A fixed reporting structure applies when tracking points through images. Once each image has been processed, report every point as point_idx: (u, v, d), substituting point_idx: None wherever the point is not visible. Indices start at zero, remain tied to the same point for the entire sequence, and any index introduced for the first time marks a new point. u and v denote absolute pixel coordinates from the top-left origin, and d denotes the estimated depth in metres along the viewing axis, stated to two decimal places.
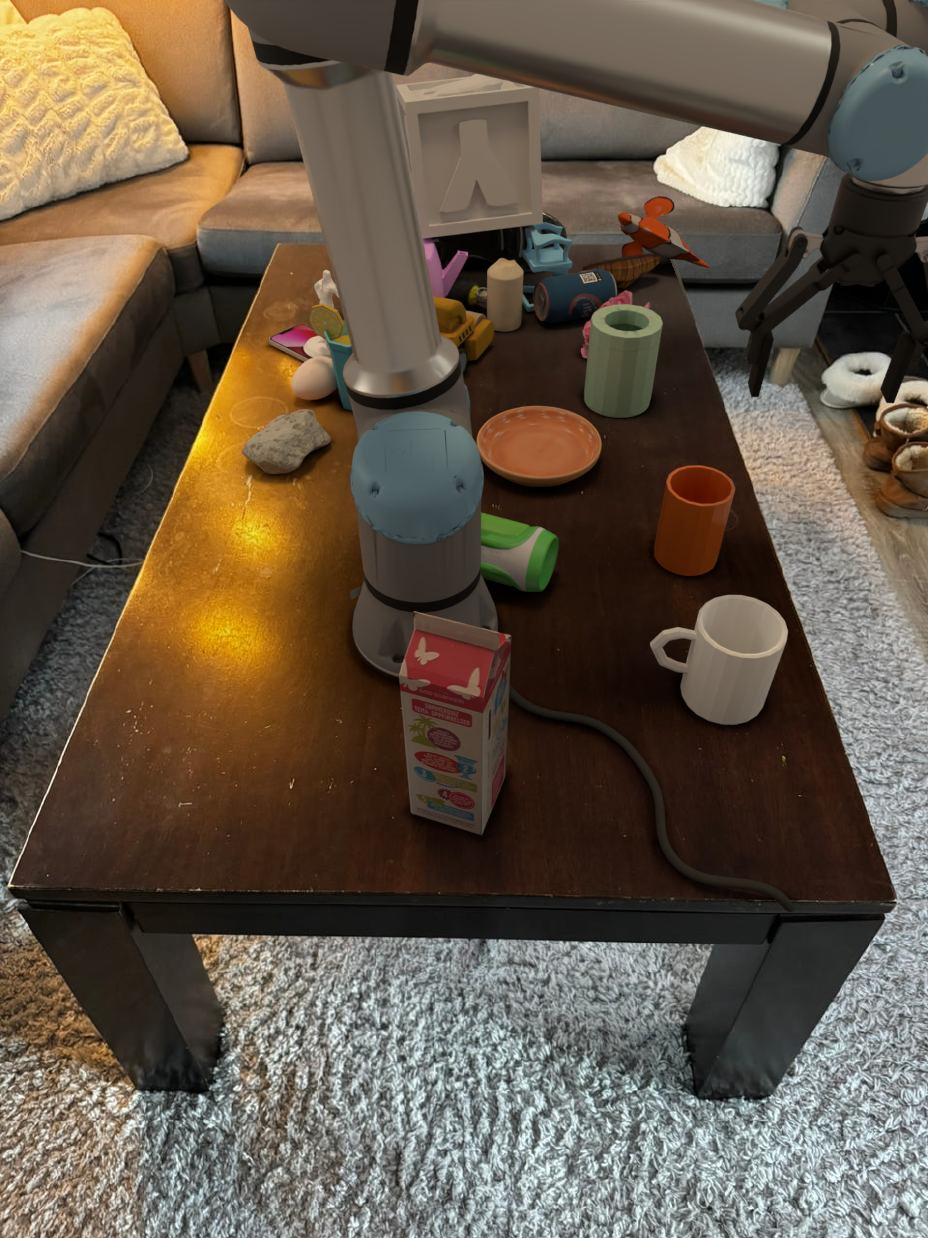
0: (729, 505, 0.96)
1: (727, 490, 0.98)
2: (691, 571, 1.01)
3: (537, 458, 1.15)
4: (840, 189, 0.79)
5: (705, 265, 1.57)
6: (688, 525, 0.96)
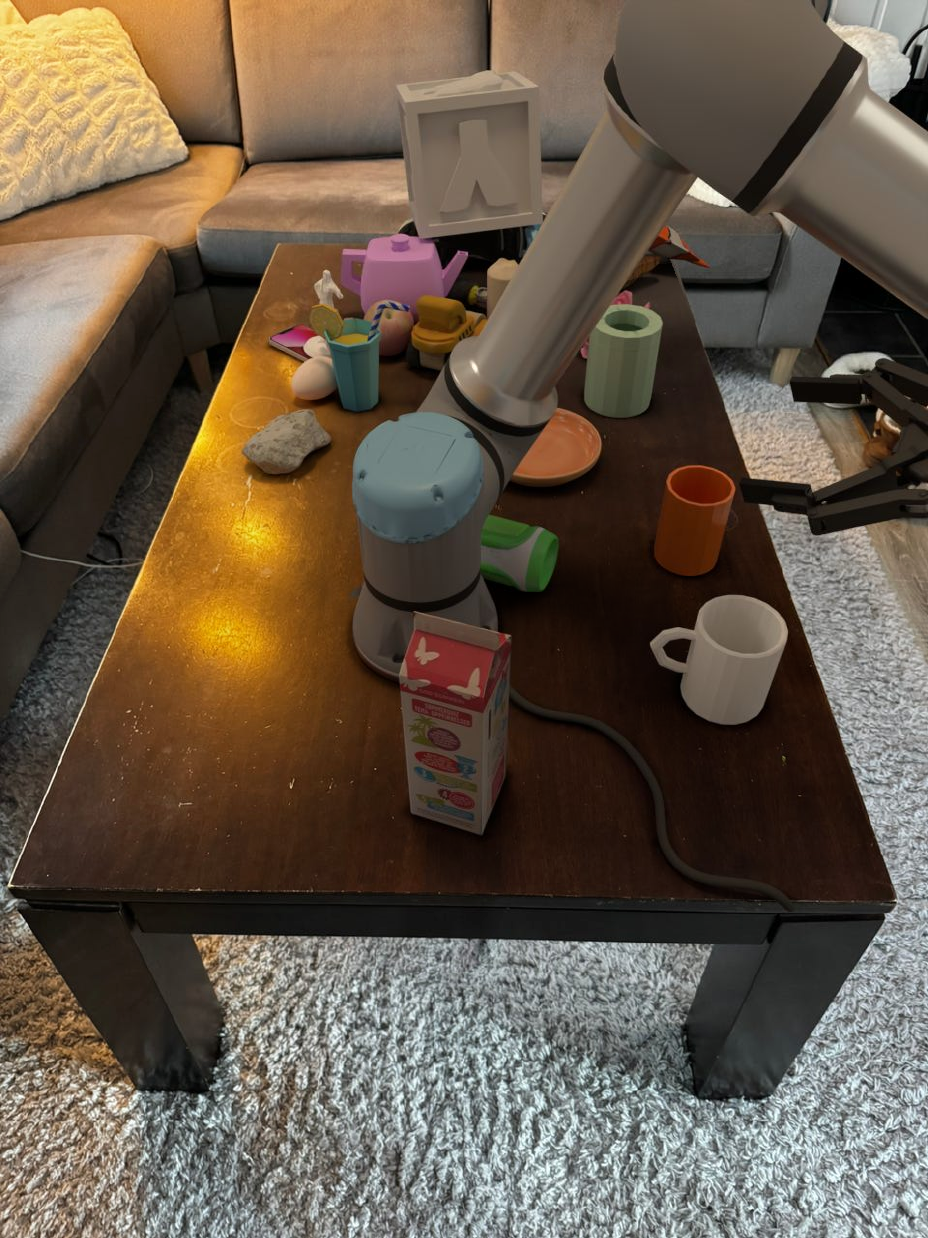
0: (729, 505, 0.96)
1: (727, 490, 0.98)
2: (691, 571, 1.01)
3: (537, 458, 1.15)
4: None
5: (705, 265, 1.57)
6: (688, 525, 0.96)
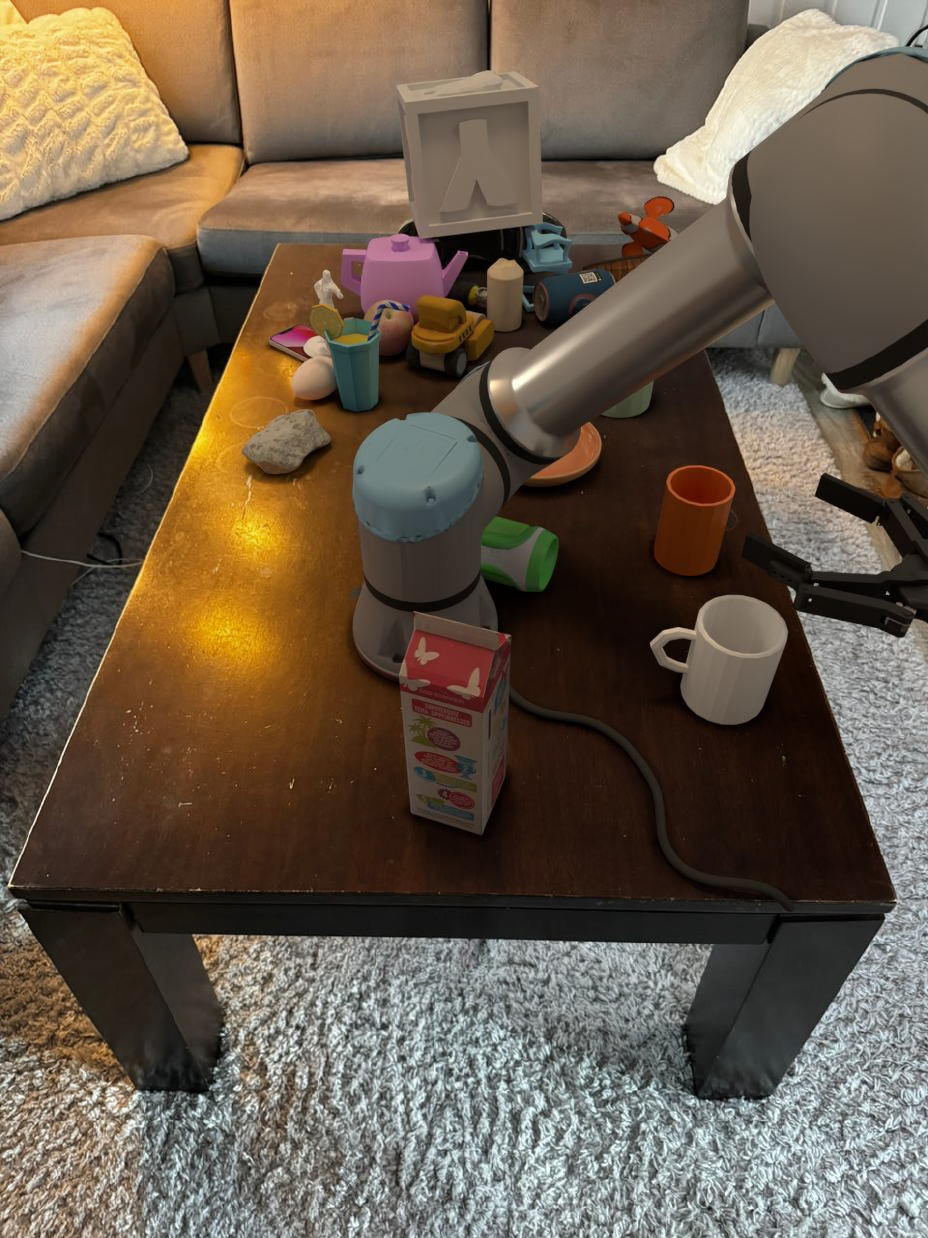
0: (729, 505, 0.96)
1: (727, 490, 0.98)
2: (691, 571, 1.01)
3: None
4: None
5: None
6: (688, 525, 0.96)
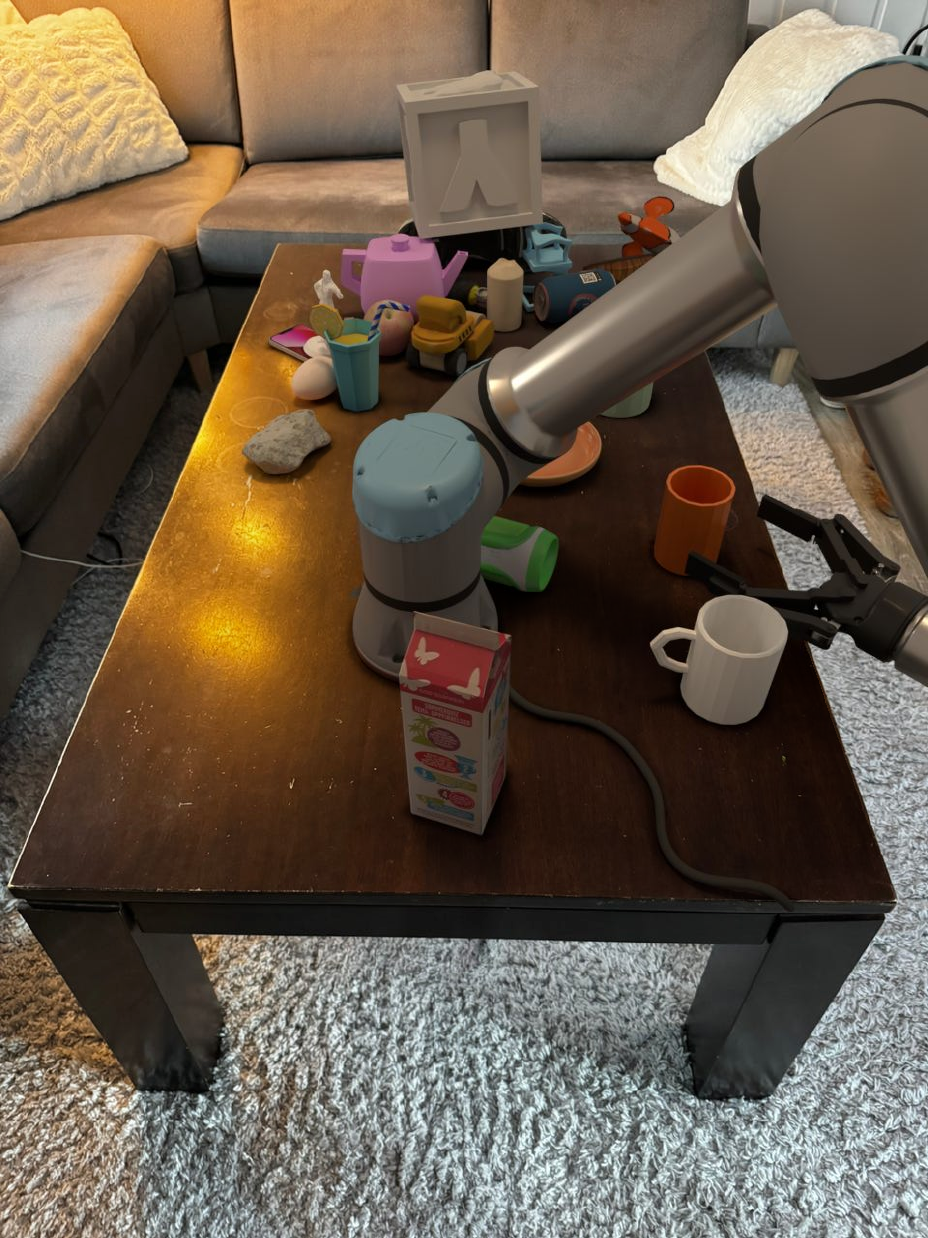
0: (729, 505, 0.96)
1: (727, 490, 0.98)
2: None
3: None
4: None
5: None
6: (688, 525, 0.96)
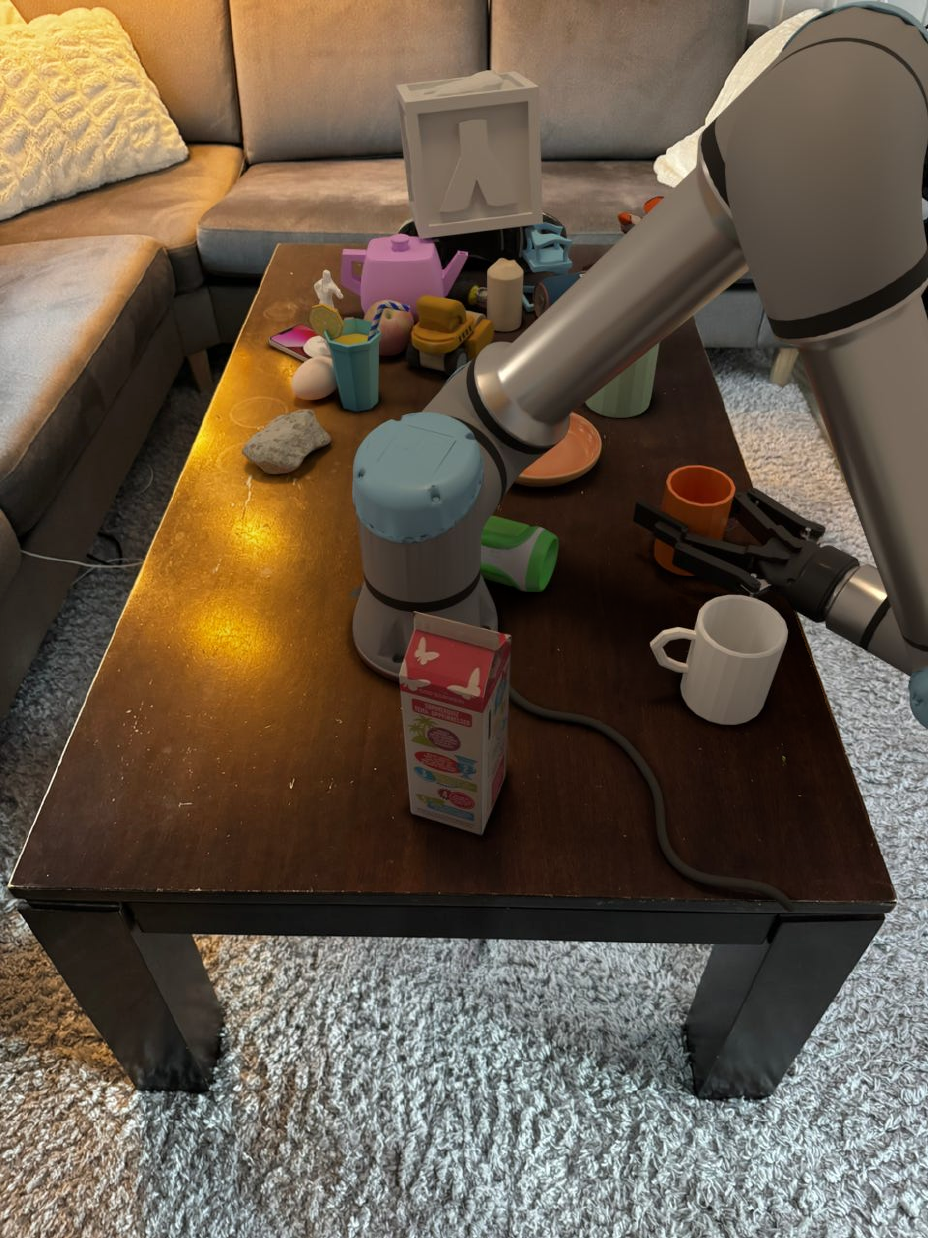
0: (729, 505, 0.96)
1: (727, 490, 0.98)
2: None
3: None
4: None
5: None
6: (688, 525, 0.96)
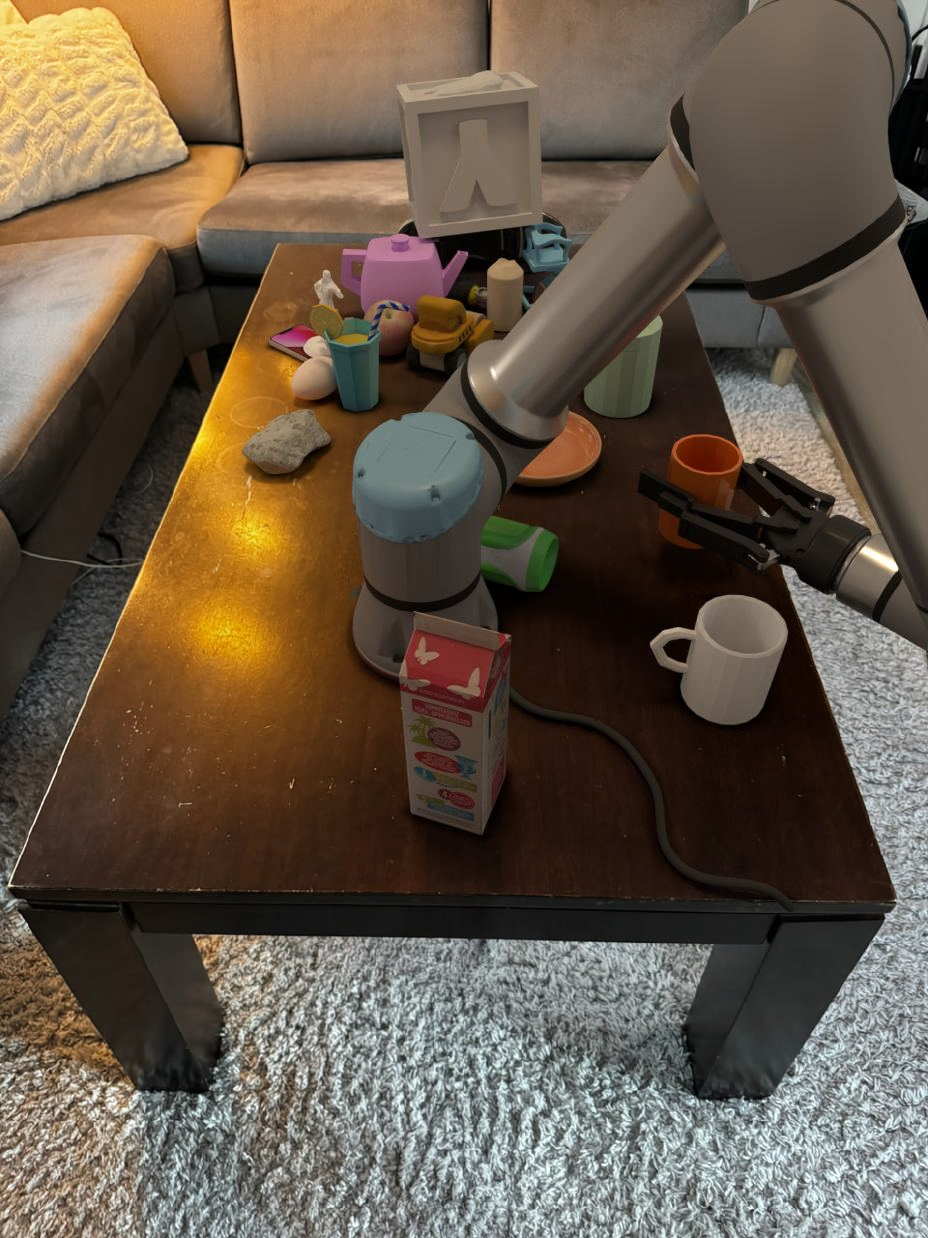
0: (737, 474, 0.93)
1: (734, 459, 0.95)
2: (696, 544, 0.98)
3: (537, 458, 1.15)
4: None
5: None
6: None
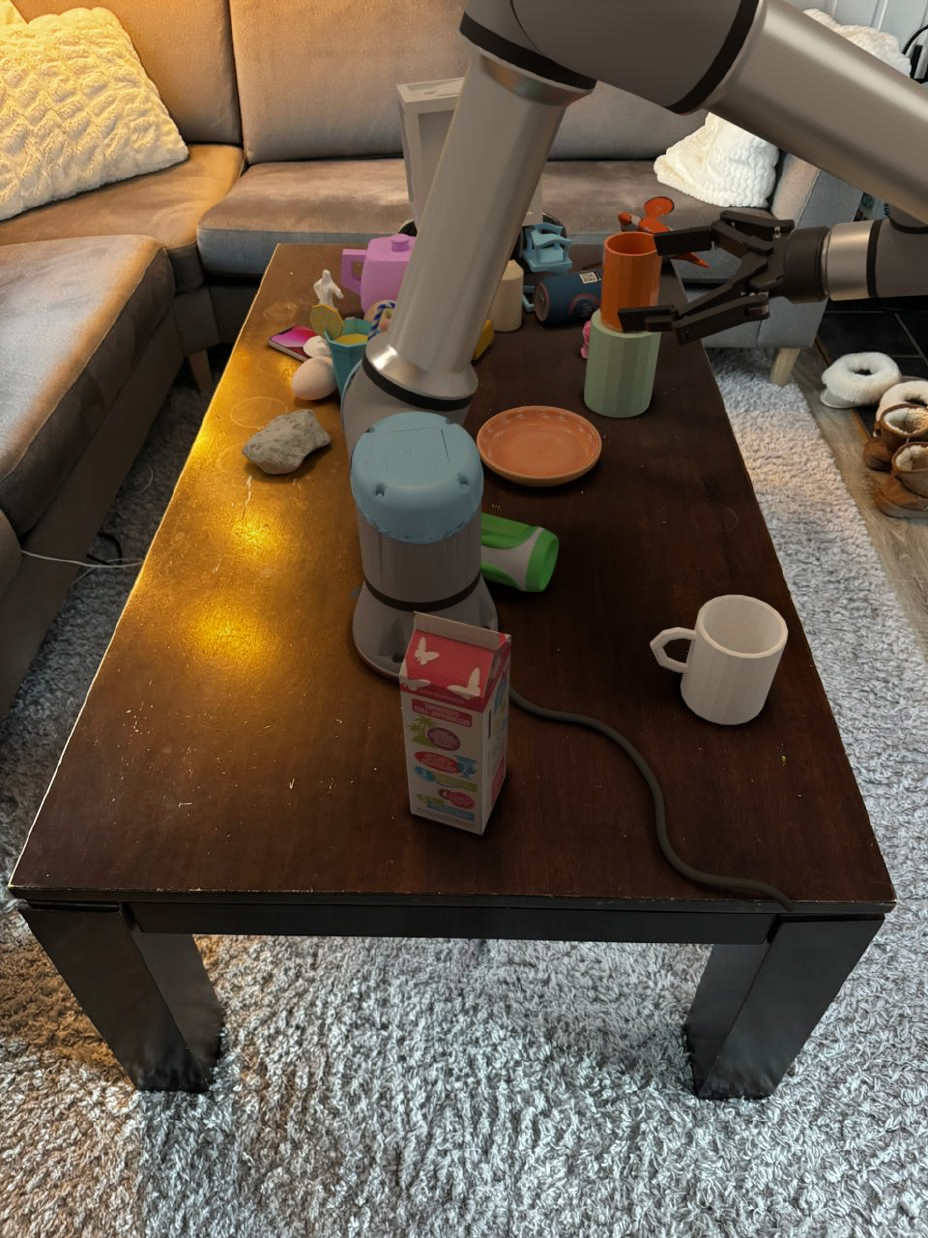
0: (658, 257, 1.11)
1: None
2: None
3: (537, 458, 1.15)
4: None
5: (705, 265, 1.57)
6: (623, 277, 1.11)
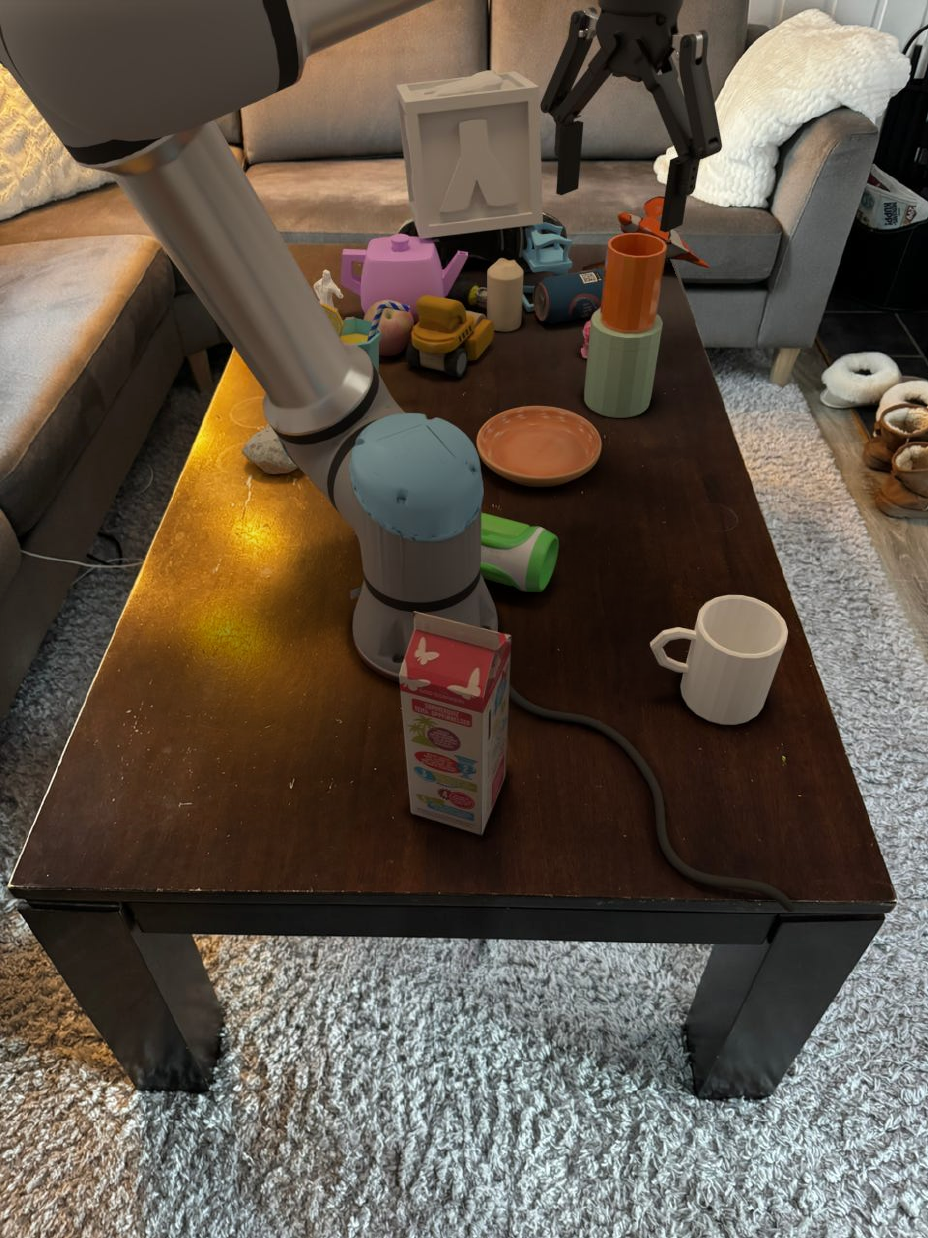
0: (661, 260, 1.11)
1: None
2: (631, 328, 1.16)
3: (537, 458, 1.15)
4: None
5: (705, 265, 1.57)
6: (626, 278, 1.11)
